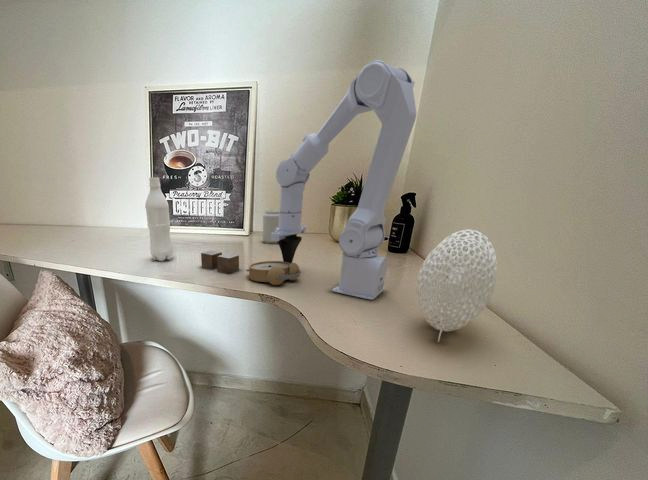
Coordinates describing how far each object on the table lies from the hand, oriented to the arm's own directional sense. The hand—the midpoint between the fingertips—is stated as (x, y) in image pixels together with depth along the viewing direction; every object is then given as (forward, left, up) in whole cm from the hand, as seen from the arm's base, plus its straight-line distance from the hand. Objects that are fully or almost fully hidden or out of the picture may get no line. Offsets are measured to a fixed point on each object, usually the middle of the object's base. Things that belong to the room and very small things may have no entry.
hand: (287, 263), depth 92 cm
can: (+27, -33, -3) cm, 43 cm away
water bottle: (+41, +11, -3) cm, 42 cm away
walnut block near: (+15, +8, -3) cm, 17 cm away
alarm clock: (0, +7, -3) cm, 7 cm away
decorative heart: (-40, +14, -3) cm, 42 cm away
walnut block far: (+21, +8, -3) cm, 23 cm away
